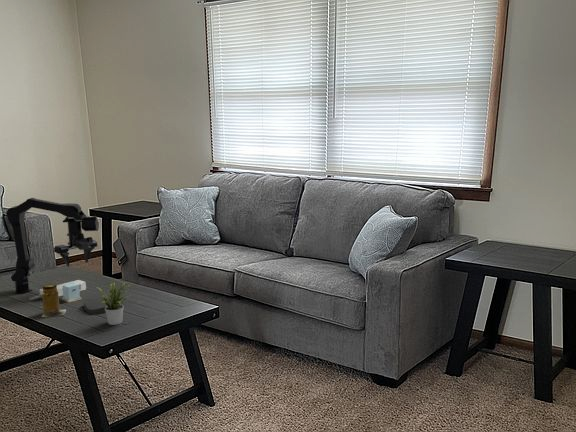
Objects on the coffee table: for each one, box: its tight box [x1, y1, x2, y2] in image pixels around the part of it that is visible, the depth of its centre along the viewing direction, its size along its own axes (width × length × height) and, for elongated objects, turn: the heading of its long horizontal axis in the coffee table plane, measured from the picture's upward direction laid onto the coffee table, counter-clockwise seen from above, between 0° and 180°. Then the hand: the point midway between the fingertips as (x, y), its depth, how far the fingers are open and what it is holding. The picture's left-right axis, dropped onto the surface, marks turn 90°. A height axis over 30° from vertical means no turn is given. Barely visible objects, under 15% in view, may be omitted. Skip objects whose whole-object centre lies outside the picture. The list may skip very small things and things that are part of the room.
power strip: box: [28, 279, 87, 301], centre depth 246 cm, size 8×25×4 cm, turn 141°
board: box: [61, 296, 83, 303], centre depth 240 cm, size 6×6×1 cm
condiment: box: [41, 283, 67, 318], centre depth 222 cm, size 7×8×12 cm
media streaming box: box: [83, 295, 124, 315], centre depth 230 cm, size 15×15×3 cm
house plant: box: [96, 281, 132, 326], centre depth 210 cm, size 14×14×16 cm
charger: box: [62, 283, 81, 301], centre depth 240 cm, size 7×5×6 cm
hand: (77, 264), depth 253 cm, fingers open, 9 cm apart
